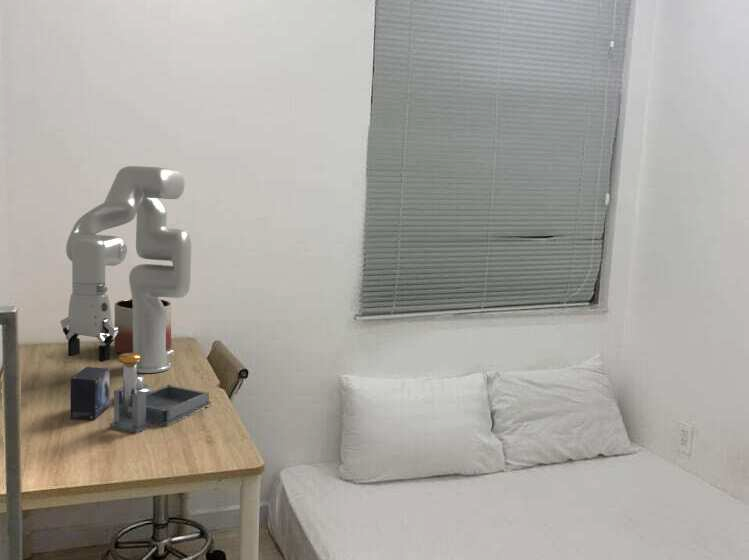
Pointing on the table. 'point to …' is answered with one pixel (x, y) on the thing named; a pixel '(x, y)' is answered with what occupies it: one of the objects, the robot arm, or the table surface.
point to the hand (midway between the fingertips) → (89, 357)
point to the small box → (89, 393)
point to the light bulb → (129, 376)
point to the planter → (126, 325)
